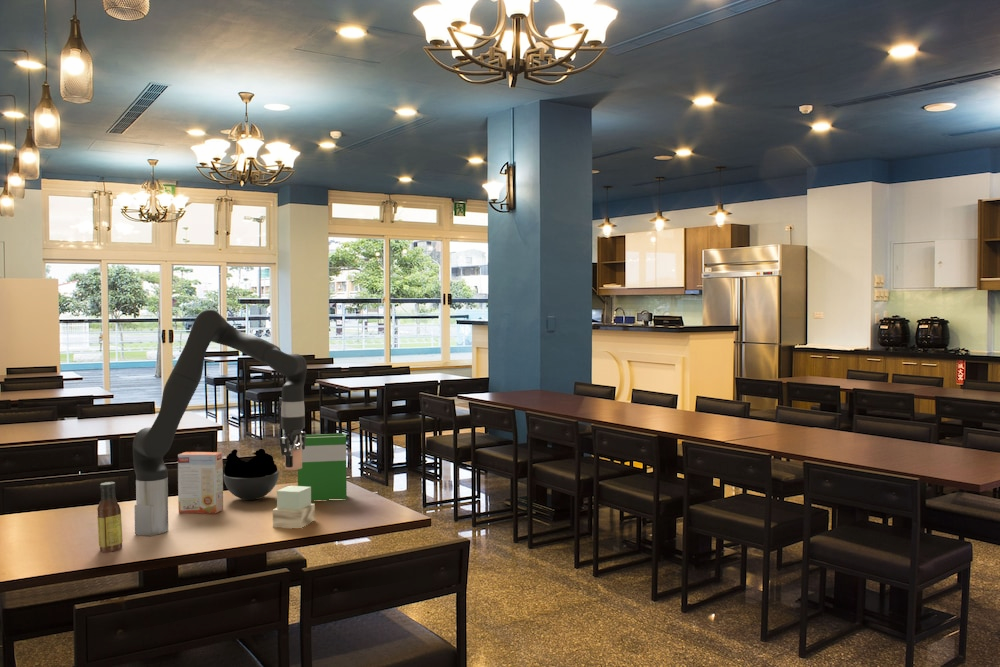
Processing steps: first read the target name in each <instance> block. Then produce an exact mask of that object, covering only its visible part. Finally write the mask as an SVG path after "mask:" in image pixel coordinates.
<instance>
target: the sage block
mask: <svg viewBox="0 0 1000 667" xmlns="http://www.w3.org/2000/svg"><path fill="white" fill-rule="evenodd" d="M311 504H312V502H311V487H306V486H298V485H288V486H285V487H282V488H280V489H278V490H276V508H277V509H285V510H301V509H303V508H305V507H307V506H309V505H311Z"/></svg>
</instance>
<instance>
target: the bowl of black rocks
mask: <svg viewBox="0 0 1000 667" xmlns="http://www.w3.org/2000/svg"><path fill="white" fill-rule="evenodd" d="M252 454H253V455H254V456H253V457H252V458H251V459H249V460H247V461H246V460H242V459H241V458H240V457H239V456H238V449H233V450H231V452H230V453H229V454H227V455H226V458H225V459H226V462H225V465H224V473H223V483H224V485H225V486H226V489H227V490H228V492H230V493H231V494H232V495H233V496H235V497H236V498H238V499H241V500H246V501H254V500H255V501H256V500H259V499H262V498H263V497H265V496H266V495H268V494H270V492H271V491H272V490H273V489H274V488H275V487H276V485H277V483H278V479H279V476H280V471H279V470H278V466H277V464H276V463H275V461H274V456H272V455H271V454H269V453H268V452H266V450H265V449H264V448H259V449H257V450H255V452H253V453H252Z"/></svg>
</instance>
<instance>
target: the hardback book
mask: <svg viewBox="0 0 1000 667" xmlns="http://www.w3.org/2000/svg"><path fill="white" fill-rule="evenodd" d="M301 439H302V438H301ZM297 486H306V487H311V501H314V500H329V499H348V498H347V497H348V496H347V493H348V492H347V490H348V489H347V488H348V487H347V433H328V434H327V433H325V434H322V433H320V434H306V440H305V449H303V451H302V468H301V469H297Z"/></svg>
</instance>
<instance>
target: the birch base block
mask: <svg viewBox="0 0 1000 667" xmlns="http://www.w3.org/2000/svg"><path fill="white" fill-rule="evenodd" d="M315 504H316V503H311V505H309V506H307V507H305V508H303V509H301V510H285V509H277V507H275V508H274V509H272V528H277V527H282V528H281V529H292V528H302V527H304V526H305V527H307V526H308V525H307V524H309V523H311V522H312V521H314V520H315V521H316V505H315ZM315 521H314V522H315ZM312 523H313V522H312ZM312 523H311V524H312ZM306 525H307V526H306ZM309 525H310V524H309ZM305 527H304V528H305ZM302 529H303V528H302Z"/></svg>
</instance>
